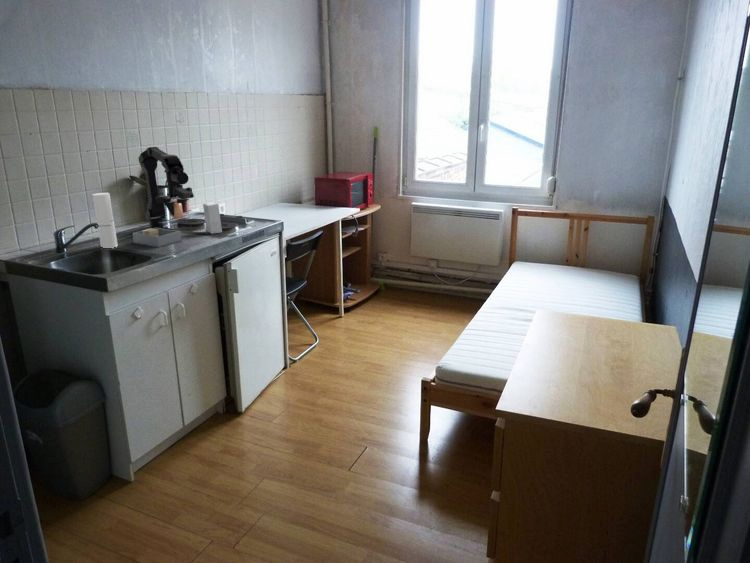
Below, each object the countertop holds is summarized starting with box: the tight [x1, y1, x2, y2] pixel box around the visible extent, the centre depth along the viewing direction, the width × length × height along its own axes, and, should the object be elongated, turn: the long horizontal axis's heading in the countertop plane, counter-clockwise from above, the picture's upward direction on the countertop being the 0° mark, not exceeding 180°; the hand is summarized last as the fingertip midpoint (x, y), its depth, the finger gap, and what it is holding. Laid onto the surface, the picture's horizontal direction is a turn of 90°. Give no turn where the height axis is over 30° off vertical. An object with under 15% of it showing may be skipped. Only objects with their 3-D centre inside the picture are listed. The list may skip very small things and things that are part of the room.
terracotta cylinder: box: [171, 202, 184, 220], centre depth 275 cm, size 5×5×7 cm
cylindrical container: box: [91, 192, 118, 249], centre depth 262 cm, size 7×7×25 cm
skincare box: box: [202, 201, 223, 234], centre depth 291 cm, size 8×6×15 cm
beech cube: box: [141, 228, 159, 236], centre depth 274 cm, size 5×5×5 cm
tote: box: [132, 228, 182, 248], centre depth 272 cm, size 18×14×5 cm
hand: (177, 214), depth 276 cm, fingers closed on terracotta cylinder, 5 cm apart
